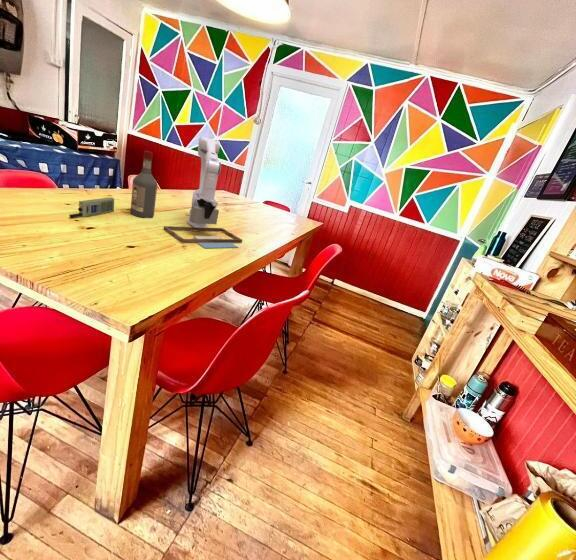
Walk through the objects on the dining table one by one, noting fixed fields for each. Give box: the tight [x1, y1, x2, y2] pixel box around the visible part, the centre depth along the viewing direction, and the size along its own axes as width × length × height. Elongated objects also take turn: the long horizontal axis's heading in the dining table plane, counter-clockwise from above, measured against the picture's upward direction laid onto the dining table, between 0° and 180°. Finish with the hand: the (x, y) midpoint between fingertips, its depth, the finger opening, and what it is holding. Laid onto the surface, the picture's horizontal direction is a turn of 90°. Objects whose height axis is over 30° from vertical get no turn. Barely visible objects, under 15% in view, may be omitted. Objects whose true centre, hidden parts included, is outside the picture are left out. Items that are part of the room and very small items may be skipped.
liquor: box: [130, 150, 158, 219], centre depth 152 cm, size 9×9×30 cm
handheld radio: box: [68, 197, 115, 219], centre depth 138 cm, size 7×3×25 cm
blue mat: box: [197, 243, 239, 250], centre depth 144 cm, size 6×18×1 cm, turn 135°
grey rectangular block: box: [190, 205, 220, 225], centre depth 150 cm, size 4×12×7 cm, turn 135°
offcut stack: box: [193, 235, 223, 239], centre depth 149 cm, size 4×15×2 cm, turn 132°
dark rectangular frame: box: [163, 225, 243, 244], centre depth 151 cm, size 17×32×2 cm, turn 135°
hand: (204, 217), depth 150 cm, fingers closed on grey rectangular block, 4 cm apart
